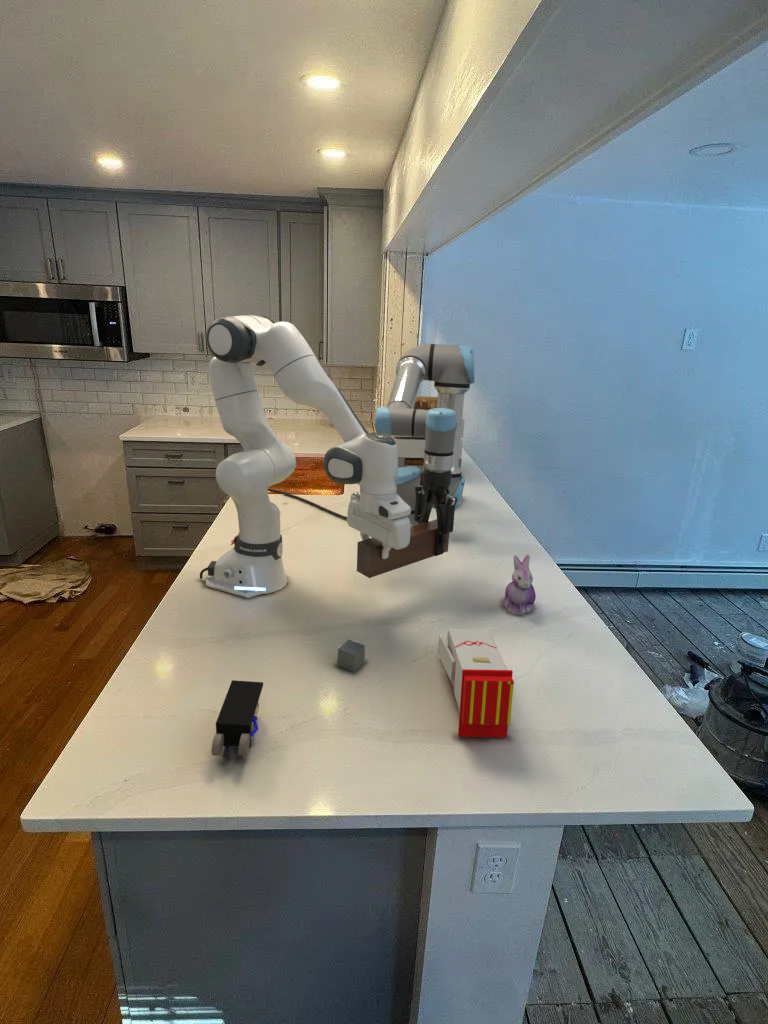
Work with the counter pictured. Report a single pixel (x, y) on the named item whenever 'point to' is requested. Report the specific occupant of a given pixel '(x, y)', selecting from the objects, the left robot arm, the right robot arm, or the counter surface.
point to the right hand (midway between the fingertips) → (431, 550)
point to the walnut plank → (398, 551)
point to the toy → (478, 682)
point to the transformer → (418, 439)
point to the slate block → (351, 655)
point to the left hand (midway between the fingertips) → (375, 553)
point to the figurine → (520, 588)
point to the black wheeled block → (237, 718)
